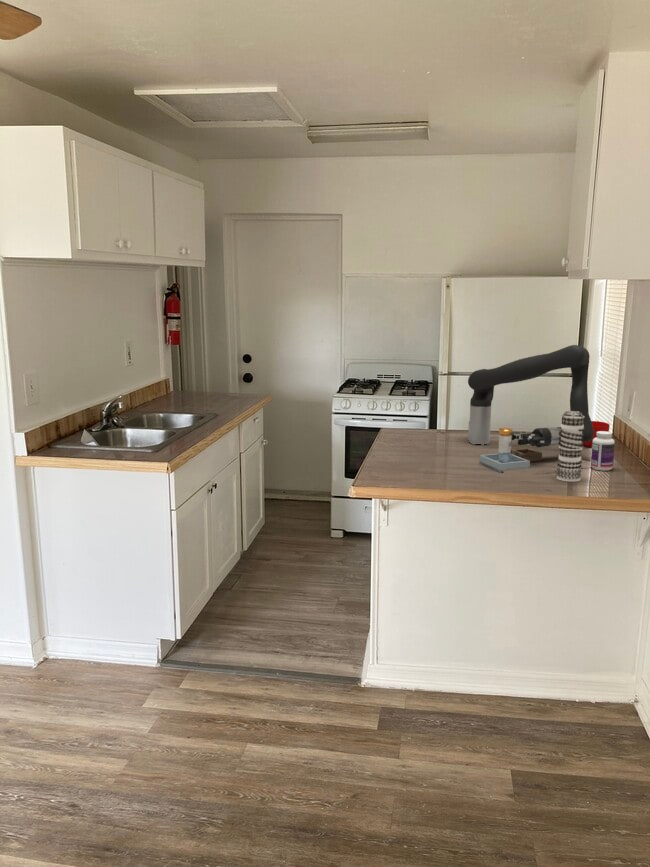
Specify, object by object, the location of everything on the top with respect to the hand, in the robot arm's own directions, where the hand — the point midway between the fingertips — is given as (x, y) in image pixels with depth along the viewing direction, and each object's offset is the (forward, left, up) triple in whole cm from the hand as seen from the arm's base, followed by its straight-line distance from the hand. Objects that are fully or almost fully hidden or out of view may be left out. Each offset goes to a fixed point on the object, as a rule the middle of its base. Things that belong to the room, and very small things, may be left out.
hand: (511, 440), depth 279 cm
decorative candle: (+23, +9, -11) cm, 27 cm away
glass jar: (0, -3, -9) cm, 10 cm away
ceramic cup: (-17, +52, -11) cm, 56 cm away
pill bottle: (+16, +30, -11) cm, 36 cm away
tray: (0, -3, -10) cm, 11 cm away
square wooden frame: (-5, +10, -10) cm, 16 cm away
